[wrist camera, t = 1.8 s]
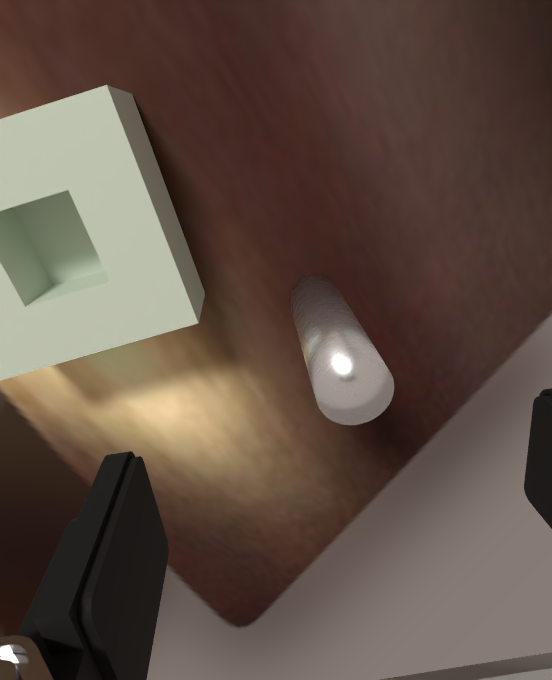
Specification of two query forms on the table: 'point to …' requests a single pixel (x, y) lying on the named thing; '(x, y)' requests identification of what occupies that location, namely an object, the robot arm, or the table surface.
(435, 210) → the table surface
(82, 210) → the socket block
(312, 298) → the steel peg
